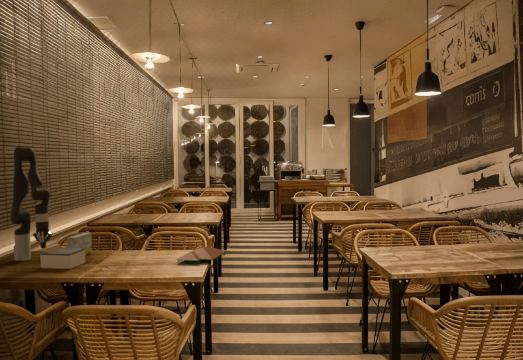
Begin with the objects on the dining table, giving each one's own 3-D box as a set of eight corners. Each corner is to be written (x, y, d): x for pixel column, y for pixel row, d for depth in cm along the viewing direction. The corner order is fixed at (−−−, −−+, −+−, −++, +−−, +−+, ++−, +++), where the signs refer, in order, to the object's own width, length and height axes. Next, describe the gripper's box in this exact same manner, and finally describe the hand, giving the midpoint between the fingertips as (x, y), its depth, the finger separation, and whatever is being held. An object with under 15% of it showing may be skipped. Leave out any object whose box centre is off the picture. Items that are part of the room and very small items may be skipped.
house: (227, 254, 314) (227, 242, 314) (210, 266, 283) (210, 253, 282) (196, 253, 320) (195, 241, 320) (175, 264, 288) (175, 251, 288)
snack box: (74, 260, 304) (73, 237, 303) (67, 260, 305) (66, 237, 304) (92, 253, 325) (92, 232, 324) (85, 253, 326) (84, 232, 325)
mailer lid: (40, 254, 284) (40, 248, 284) (56, 249, 300) (55, 243, 300) (70, 255, 281) (69, 248, 281) (84, 249, 297) (84, 243, 296)
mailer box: (40, 267, 285) (40, 255, 284) (56, 261, 301) (56, 249, 300) (70, 268, 281) (70, 255, 281) (85, 262, 297) (84, 250, 297)
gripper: (28, 221, 289) (30, 249, 290) (47, 221, 287) (49, 249, 288) (36, 219, 297) (37, 246, 297) (55, 219, 294) (56, 247, 295)
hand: (43, 248), depth 293 cm, fingers closed
